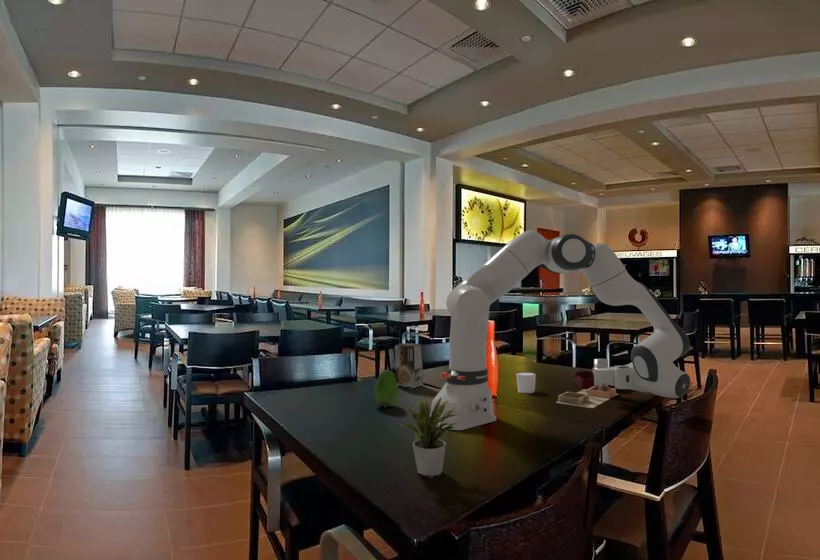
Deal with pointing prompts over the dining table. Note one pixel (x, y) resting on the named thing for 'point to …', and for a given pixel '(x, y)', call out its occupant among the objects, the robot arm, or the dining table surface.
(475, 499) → the dining table surface
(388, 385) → the avocado
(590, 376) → the ashtray
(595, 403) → the rail board
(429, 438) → the house plant
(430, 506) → the dining table surface
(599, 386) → the peg
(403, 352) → the coffee box
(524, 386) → the white cup
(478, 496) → the dining table surface
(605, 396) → the marked socket
